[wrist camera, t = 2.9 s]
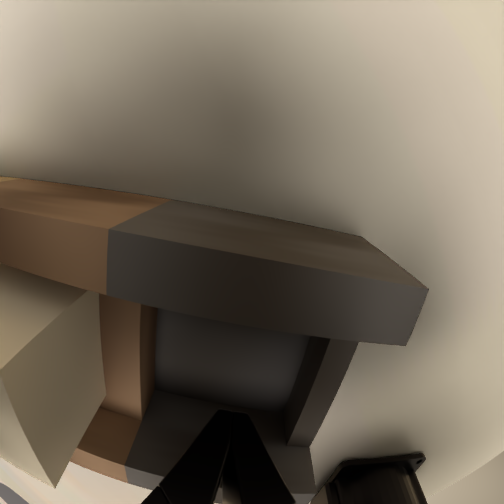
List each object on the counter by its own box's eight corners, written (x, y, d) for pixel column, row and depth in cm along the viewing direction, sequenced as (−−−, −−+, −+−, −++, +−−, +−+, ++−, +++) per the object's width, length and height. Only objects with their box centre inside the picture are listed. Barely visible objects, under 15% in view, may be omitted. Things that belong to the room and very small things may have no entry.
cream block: (98, 281, 9) (-1, 370, 4) (106, 394, 10) (55, 488, 5) (-3, 251, 9) (-96, 300, 4) (15, 356, 10) (-47, 421, 5)
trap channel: (361, 237, 11) (428, 289, 6) (294, 427, 14) (303, 509, 9) (-59, 171, 10) (-118, 183, 5) (-45, 318, 13) (-88, 351, 8)
